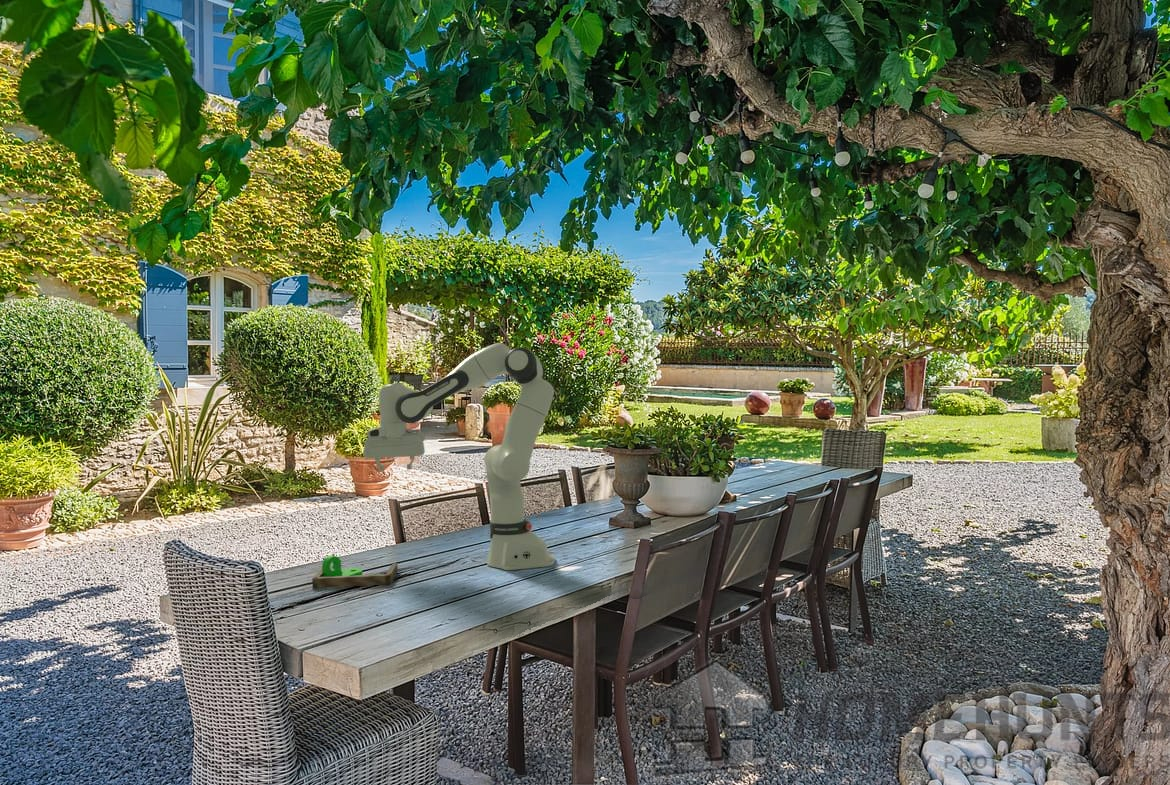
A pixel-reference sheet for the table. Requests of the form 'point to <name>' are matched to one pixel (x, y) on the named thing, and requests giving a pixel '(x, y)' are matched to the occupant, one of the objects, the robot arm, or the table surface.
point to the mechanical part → (337, 568)
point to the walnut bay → (354, 579)
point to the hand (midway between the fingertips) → (395, 470)
